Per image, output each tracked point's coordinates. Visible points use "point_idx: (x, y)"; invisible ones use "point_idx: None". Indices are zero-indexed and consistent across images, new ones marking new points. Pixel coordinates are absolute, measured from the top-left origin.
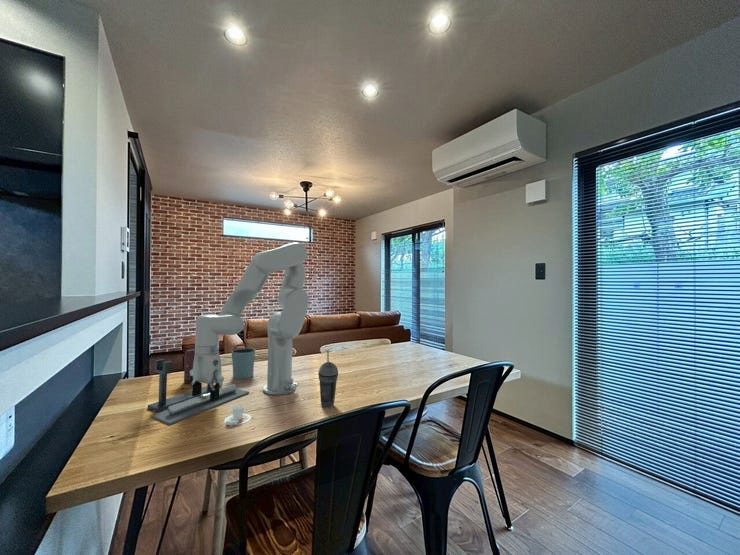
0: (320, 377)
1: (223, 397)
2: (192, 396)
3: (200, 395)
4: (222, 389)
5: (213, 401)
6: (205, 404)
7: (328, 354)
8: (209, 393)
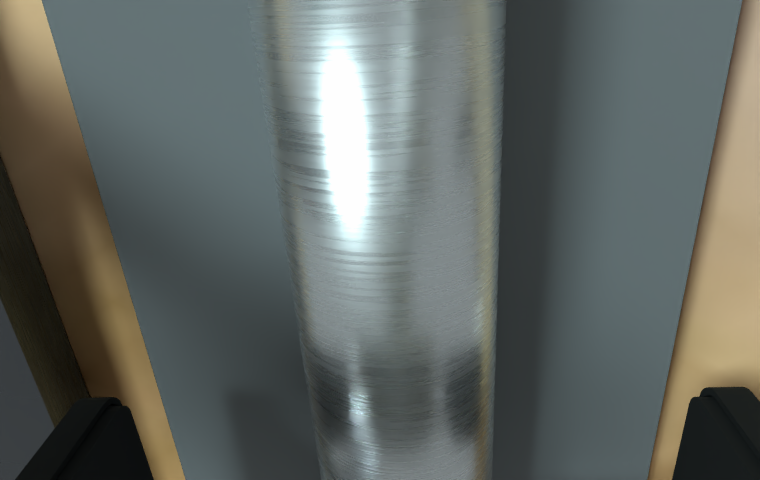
0: None
1: None
2: (20, 410)
3: (12, 277)
4: (438, 92)
5: None
6: None
7: None
8: (433, 463)
